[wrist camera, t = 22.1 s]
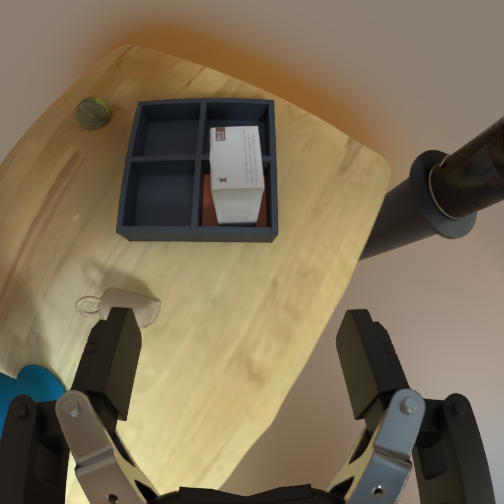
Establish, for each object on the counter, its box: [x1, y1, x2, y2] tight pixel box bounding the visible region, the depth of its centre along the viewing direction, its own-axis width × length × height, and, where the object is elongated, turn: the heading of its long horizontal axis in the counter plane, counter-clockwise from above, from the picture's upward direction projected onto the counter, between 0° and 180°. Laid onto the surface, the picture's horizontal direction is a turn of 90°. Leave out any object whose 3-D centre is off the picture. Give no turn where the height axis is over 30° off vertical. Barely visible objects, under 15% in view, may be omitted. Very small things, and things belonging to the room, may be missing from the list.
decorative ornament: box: [75, 288, 160, 328], centre depth 29 cm, size 4×8×5 cm, turn 76°
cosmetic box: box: [210, 126, 265, 227], centre depth 28 cm, size 6×4×12 cm
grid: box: [116, 98, 278, 243], centre depth 33 cm, size 17×17×5 cm
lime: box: [76, 97, 109, 129], centre depth 33 cm, size 4×5×5 cm
